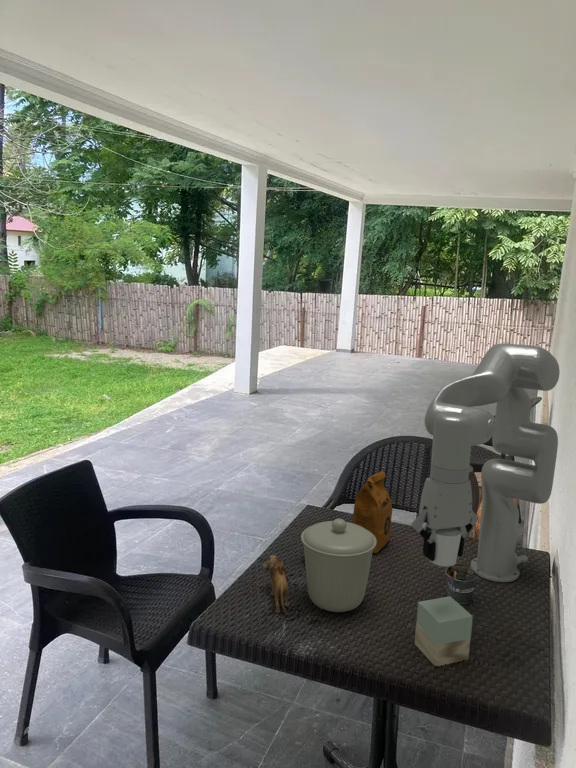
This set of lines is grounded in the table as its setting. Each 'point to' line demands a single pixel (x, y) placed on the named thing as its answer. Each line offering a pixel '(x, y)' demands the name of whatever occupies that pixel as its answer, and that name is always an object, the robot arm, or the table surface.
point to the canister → (337, 563)
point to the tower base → (441, 649)
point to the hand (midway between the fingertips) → (442, 555)
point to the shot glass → (446, 546)
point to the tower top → (444, 620)
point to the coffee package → (374, 510)
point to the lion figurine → (278, 581)
